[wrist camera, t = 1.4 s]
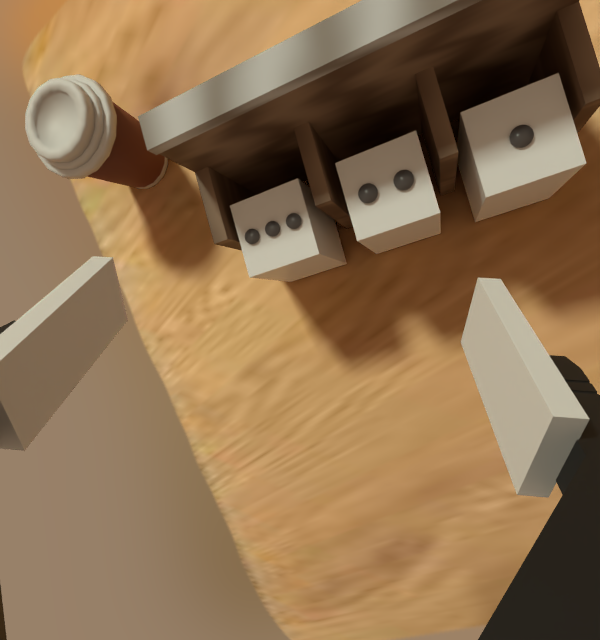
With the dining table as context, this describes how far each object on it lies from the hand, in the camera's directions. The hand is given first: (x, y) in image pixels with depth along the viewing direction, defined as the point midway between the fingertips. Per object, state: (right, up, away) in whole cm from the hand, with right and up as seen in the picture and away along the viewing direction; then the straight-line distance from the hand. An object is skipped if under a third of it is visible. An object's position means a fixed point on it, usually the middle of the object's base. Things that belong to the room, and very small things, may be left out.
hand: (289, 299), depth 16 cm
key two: (+10, +9, +24) cm, 28 cm away
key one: (+18, +12, +22) cm, 30 cm away
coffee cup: (-17, +17, +33) cm, 41 cm away
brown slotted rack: (+8, +13, +25) cm, 29 cm away
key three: (+1, +7, +27) cm, 28 cm away
